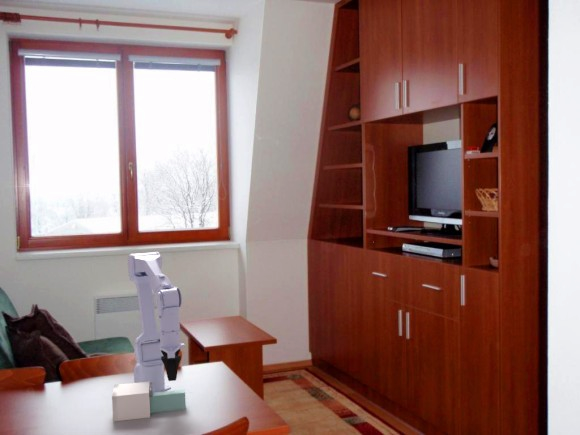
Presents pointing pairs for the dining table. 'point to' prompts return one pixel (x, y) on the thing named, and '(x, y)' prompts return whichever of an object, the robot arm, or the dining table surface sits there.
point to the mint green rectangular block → (167, 401)
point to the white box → (131, 401)
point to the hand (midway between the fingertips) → (172, 376)
